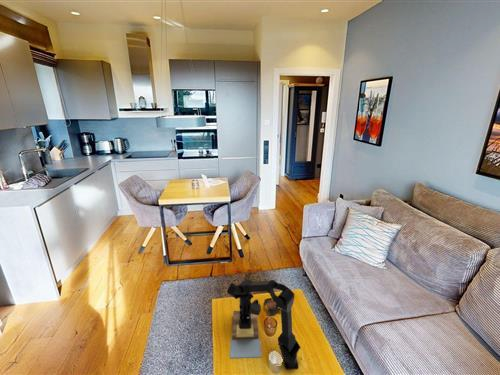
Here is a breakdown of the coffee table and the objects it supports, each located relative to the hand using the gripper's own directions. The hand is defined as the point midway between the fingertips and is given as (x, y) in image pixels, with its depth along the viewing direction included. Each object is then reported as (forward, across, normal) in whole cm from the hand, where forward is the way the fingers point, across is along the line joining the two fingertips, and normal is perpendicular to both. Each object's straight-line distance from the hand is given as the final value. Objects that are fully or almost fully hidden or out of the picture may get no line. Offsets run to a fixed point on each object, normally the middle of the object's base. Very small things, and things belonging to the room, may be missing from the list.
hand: (245, 324), depth 135 cm
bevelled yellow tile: (+1, -4, 0) cm, 4 cm away
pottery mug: (+5, +15, -17) cm, 23 cm away
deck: (+5, +3, 0) cm, 6 cm away
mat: (+5, -10, 0) cm, 11 cm away
